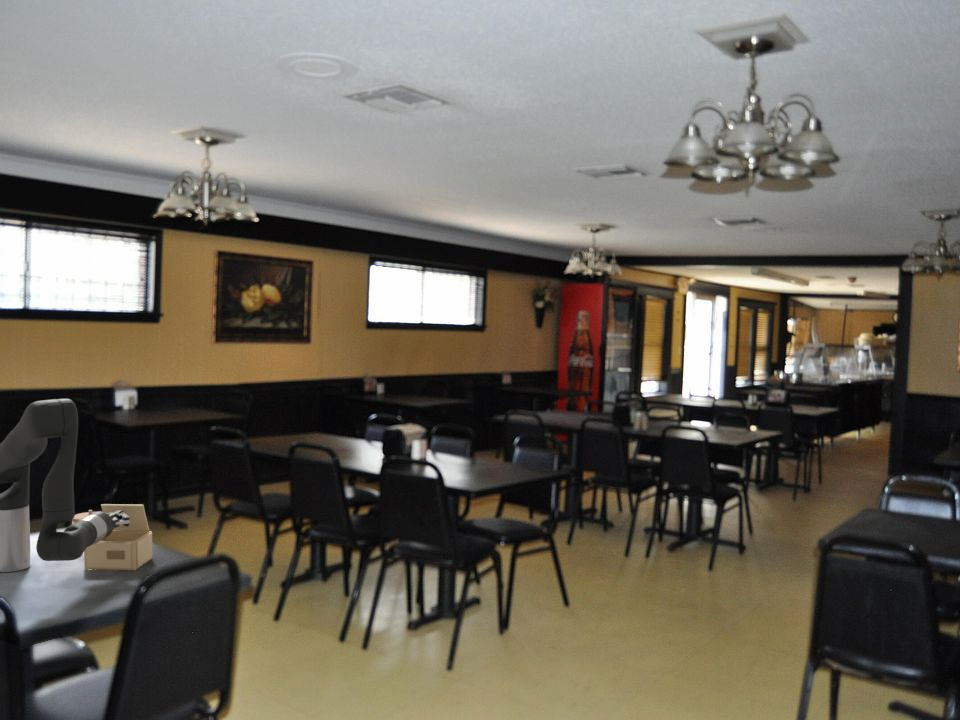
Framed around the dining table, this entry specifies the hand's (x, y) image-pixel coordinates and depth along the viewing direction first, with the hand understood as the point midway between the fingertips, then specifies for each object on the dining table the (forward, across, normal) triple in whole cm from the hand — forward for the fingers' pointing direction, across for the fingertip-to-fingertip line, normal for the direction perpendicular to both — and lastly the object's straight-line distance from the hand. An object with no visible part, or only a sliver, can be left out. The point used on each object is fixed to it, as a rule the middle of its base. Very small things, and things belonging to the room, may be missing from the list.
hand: (120, 513), depth 244 cm
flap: (+5, 0, +6) cm, 8 cm away
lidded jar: (+24, +20, +14) cm, 34 cm away
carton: (-2, 0, +14) cm, 14 cm away
